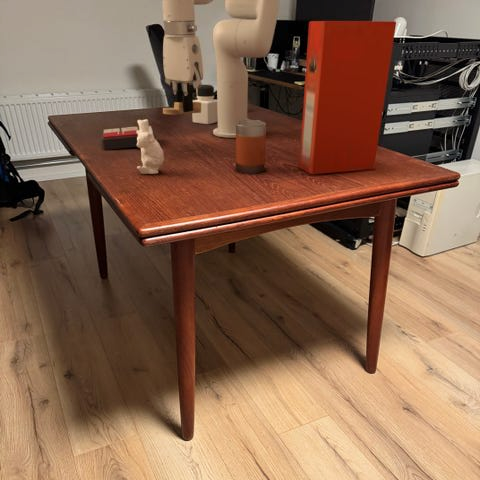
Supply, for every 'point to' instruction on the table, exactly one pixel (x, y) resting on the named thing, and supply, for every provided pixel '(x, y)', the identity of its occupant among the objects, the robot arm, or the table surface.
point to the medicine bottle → (206, 106)
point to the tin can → (250, 146)
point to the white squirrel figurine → (148, 149)
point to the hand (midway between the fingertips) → (184, 110)
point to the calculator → (121, 137)
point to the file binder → (344, 94)
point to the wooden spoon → (179, 109)
